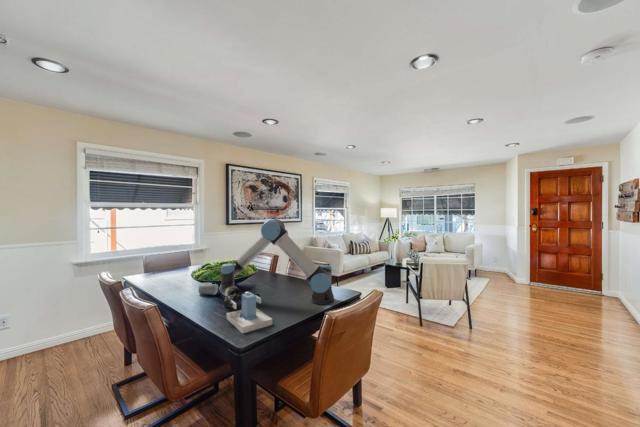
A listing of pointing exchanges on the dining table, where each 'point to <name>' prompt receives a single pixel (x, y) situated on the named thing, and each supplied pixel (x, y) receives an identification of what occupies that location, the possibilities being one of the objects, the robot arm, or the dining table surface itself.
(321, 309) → the dining table surface
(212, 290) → the spool
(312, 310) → the dining table surface
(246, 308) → the servo
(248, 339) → the dining table surface
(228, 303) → the robot arm
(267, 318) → the frame
